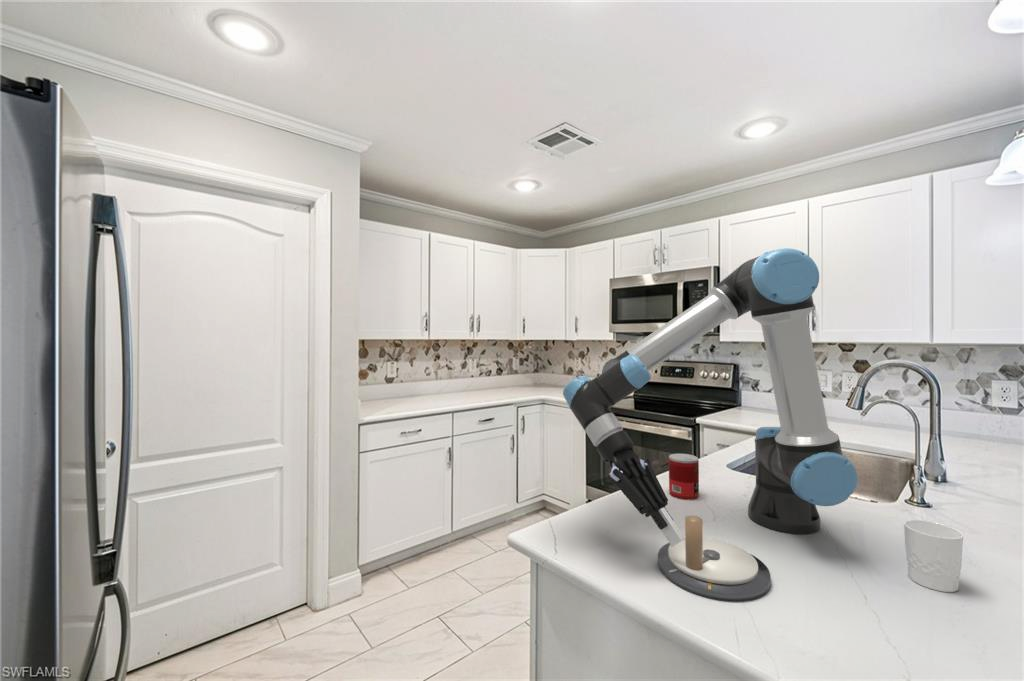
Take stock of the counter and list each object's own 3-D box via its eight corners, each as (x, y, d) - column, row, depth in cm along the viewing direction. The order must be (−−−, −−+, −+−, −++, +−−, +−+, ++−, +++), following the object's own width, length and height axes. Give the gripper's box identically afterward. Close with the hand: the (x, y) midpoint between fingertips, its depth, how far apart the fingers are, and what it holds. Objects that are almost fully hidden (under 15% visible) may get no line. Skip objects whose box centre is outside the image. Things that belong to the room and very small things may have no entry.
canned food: (701, 500, 121) (701, 461, 121) (671, 499, 123) (671, 460, 123) (695, 491, 129) (695, 453, 128) (667, 489, 130) (666, 452, 130)
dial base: (746, 548, 94) (746, 540, 94) (791, 605, 74) (790, 596, 74) (650, 543, 97) (650, 535, 97) (668, 596, 77) (668, 587, 77)
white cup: (892, 571, 84) (892, 520, 84) (930, 569, 85) (929, 518, 85) (935, 596, 76) (935, 539, 76) (976, 593, 77) (976, 537, 77)
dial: (723, 539, 95) (723, 493, 95) (778, 580, 79) (778, 525, 79) (654, 545, 92) (653, 498, 92) (696, 588, 77) (696, 532, 77)
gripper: (617, 443, 102) (682, 541, 90) (581, 452, 94) (647, 561, 82) (637, 425, 98) (708, 524, 86) (601, 433, 90) (674, 544, 77)
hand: (678, 542), depth 84 cm, fingers closed
